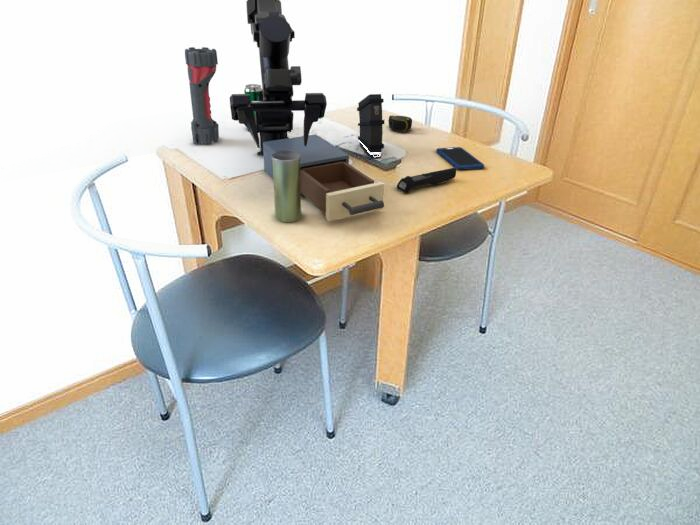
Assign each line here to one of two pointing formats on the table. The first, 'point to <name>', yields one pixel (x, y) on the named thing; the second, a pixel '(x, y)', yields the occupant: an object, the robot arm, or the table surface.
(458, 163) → the cell phone
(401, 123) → the tape measure
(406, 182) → the electric trimmer
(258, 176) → the table surface
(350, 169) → the drawer
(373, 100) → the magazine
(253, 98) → the soda can
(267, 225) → the table surface
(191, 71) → the flashlight
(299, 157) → the tea tin
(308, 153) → the cabinet
